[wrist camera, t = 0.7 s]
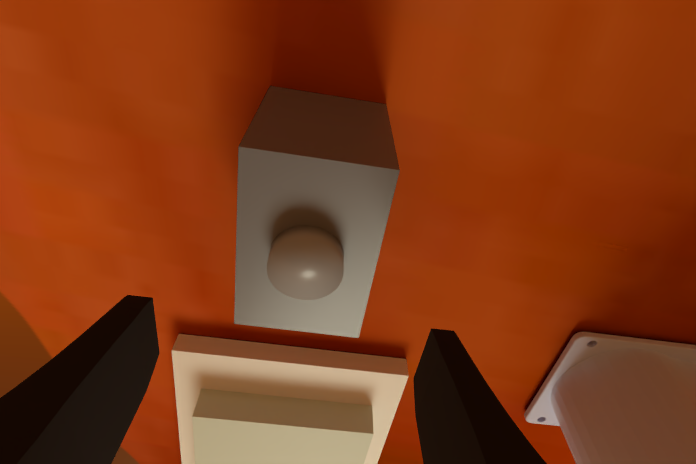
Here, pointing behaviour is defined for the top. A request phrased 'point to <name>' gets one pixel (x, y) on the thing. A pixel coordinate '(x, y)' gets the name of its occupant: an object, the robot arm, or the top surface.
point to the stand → (282, 402)
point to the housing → (311, 211)
